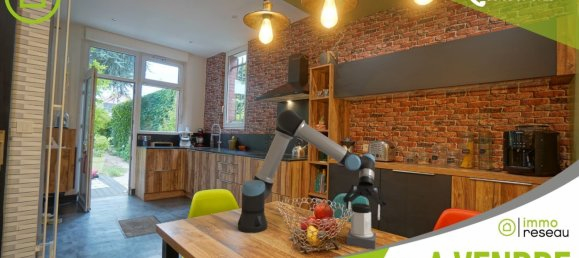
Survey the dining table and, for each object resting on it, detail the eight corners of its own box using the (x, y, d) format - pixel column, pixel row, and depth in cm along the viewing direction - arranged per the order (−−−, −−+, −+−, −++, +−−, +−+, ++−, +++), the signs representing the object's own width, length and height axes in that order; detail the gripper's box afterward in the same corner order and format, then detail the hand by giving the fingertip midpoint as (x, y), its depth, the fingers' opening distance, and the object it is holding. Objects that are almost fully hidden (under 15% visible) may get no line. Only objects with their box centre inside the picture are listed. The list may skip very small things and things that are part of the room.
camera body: (346, 244, 118) (346, 234, 119) (349, 236, 129) (349, 227, 129) (375, 249, 114) (375, 238, 115) (375, 240, 125) (376, 230, 125)
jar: (360, 236, 116) (361, 208, 117) (347, 231, 123) (347, 204, 124) (374, 233, 121) (374, 206, 121) (360, 228, 128) (361, 202, 128)
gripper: (392, 186, 137) (392, 224, 123) (342, 182, 146) (337, 217, 131) (392, 176, 132) (392, 215, 118) (341, 173, 141) (335, 209, 127)
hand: (363, 216), depth 125 cm, fingers open, 13 cm apart
